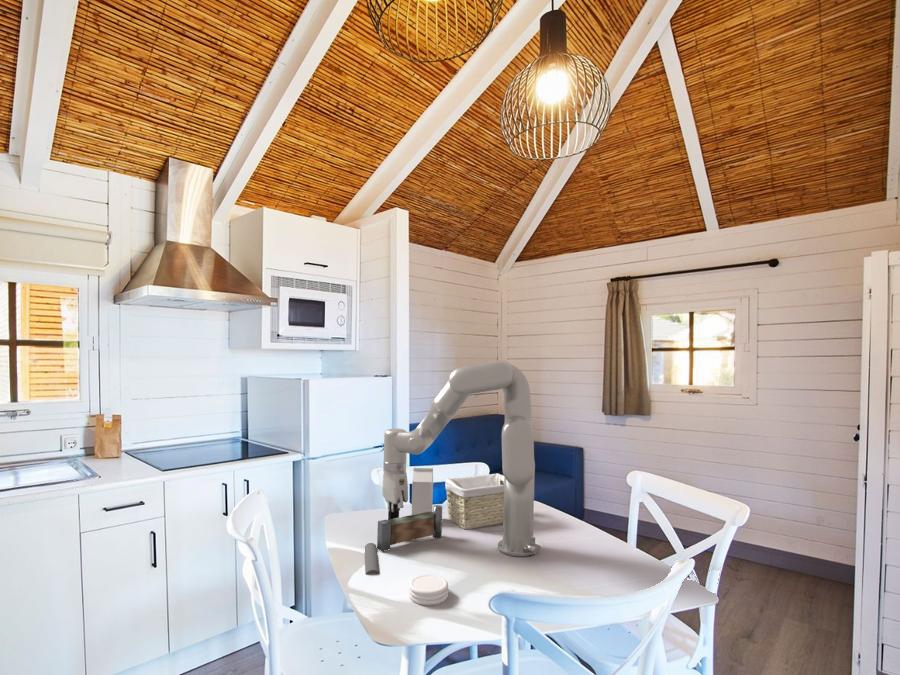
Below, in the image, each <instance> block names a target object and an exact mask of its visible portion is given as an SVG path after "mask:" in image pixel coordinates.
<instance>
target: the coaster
mask: <svg viewBox="0 0 900 675" xmlns="http://www.w3.org/2000/svg"><path fill="white" fill-rule="evenodd" d="M408 584H409V585H408V587H409V588H408V597H409V599H410V600H411V601H412V602H413V603H414V604H418V605H419V606H436V605H440V604H442V603H444V602H446V600H447V599H448V597H449V593H448V592H449V582H448V581H447V580H446V579H445V578H444V577H442V576H439V575H435V574H420V575H418V576H416V577H413V578H412V579H411V580H410V581H409V583H408Z"/></svg>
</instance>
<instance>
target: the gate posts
mask: <svg viewBox="0 0 900 675" xmlns="http://www.w3.org/2000/svg"><path fill="white" fill-rule="evenodd" d="M432 512H434V535H432V538H433V539H441V538H442V537H443V536H442V533H443V531H442V530H443V506H442V505H440V504H436V505H432ZM376 535H377V536H376V539H377V541H376V542H377V544H376V546H377V548H378V549H379V550H378V549H377V550H378V551H380V550H381V551H383V552H385V551H384V550H388V549H390V550H391V545H390V540H391V522H390V521H388V519H381V520H377V534H376ZM381 551H380V552H381ZM388 551H389V550H388Z"/></svg>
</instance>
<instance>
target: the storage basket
mask: <svg viewBox="0 0 900 675" xmlns="http://www.w3.org/2000/svg"><path fill="white" fill-rule="evenodd" d="M444 480H445V486H444V488H445V491H446V501H447V512H448V513H447V514H448V519H450V520H451V521H452V522H453V523H455V524H456V525H457V526H459V527H460V528H461V529H463V530H473V529H479V528H485V527H491V526H496V525H501V524H502V525H503V506H504V474H500V473H491V474H490V473H489V474H488V473H487V474H481V475H480V474H479V475H472V476H461V477H460V476H458V477H448V478H446V479H444Z"/></svg>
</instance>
